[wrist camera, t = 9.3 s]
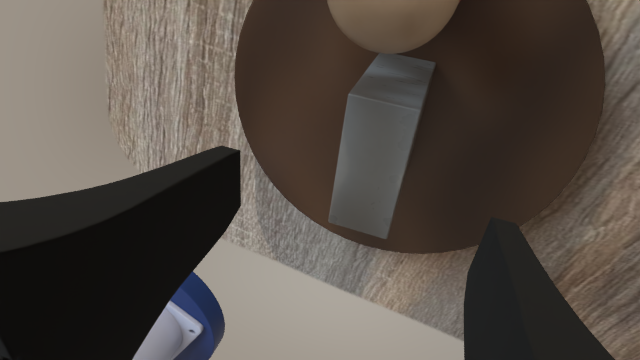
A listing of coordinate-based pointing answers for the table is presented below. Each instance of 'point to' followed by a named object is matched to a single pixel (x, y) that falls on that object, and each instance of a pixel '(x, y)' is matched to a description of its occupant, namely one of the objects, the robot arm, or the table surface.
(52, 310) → the robot arm
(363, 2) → the disc
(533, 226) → the table surface
